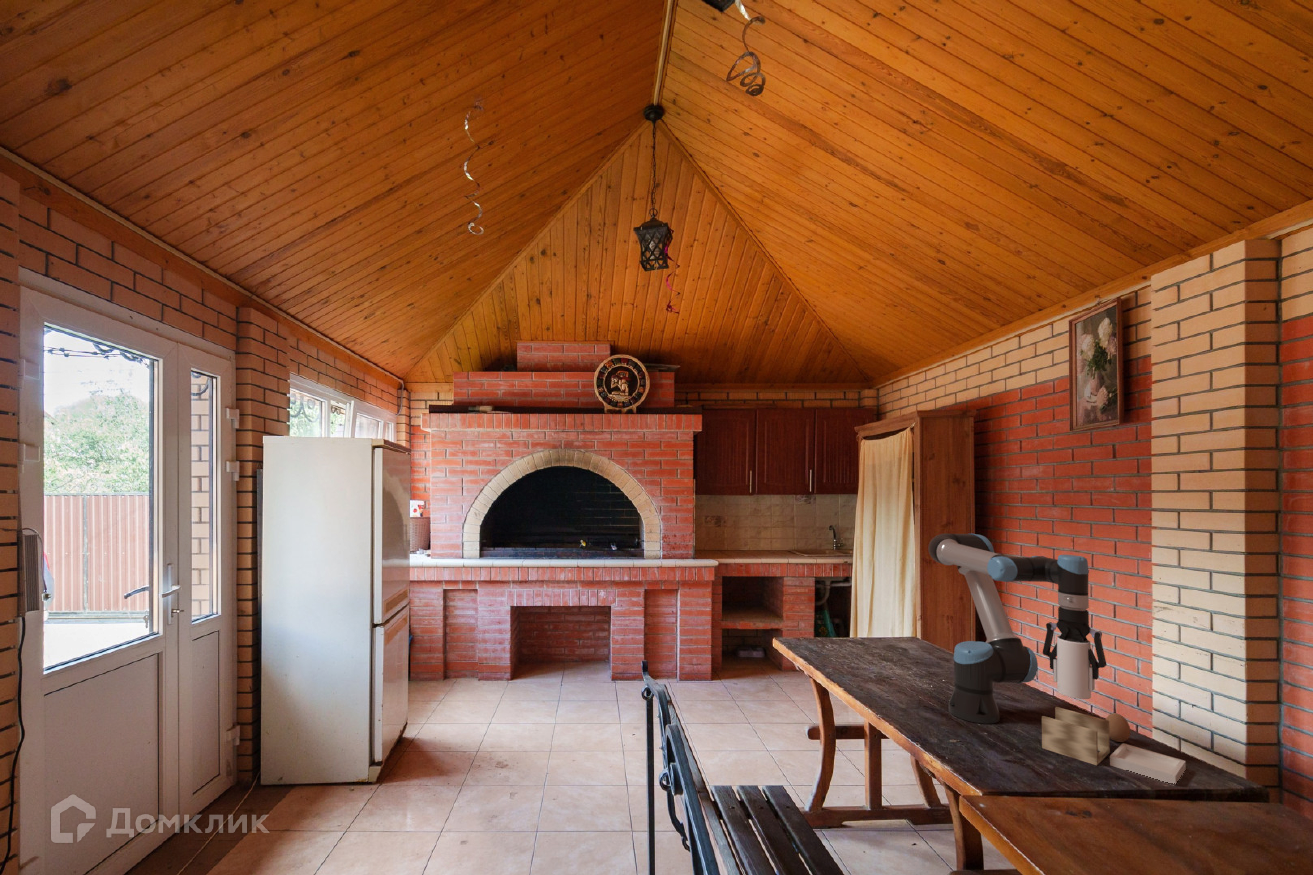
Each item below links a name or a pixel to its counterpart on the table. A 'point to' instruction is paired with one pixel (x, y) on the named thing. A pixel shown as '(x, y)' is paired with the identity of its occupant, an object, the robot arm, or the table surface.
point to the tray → (1148, 763)
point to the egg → (1118, 727)
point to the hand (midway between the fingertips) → (1073, 685)
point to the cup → (1073, 668)
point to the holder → (1076, 735)
